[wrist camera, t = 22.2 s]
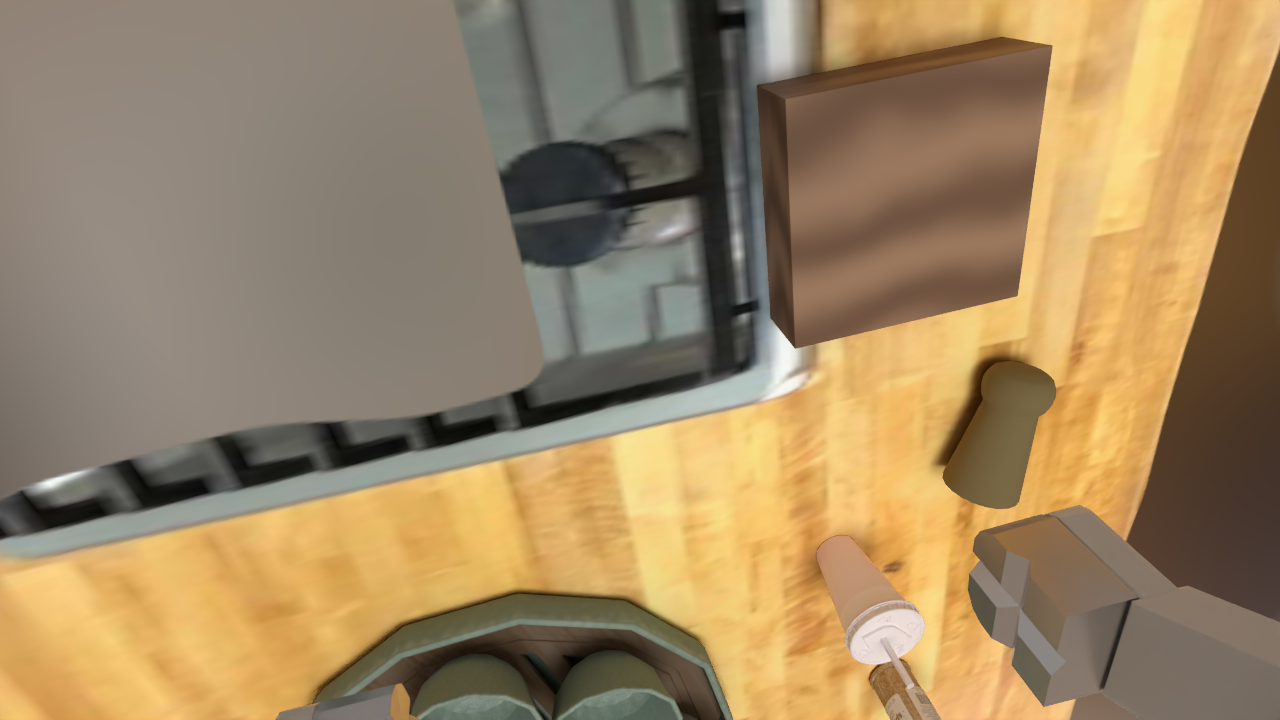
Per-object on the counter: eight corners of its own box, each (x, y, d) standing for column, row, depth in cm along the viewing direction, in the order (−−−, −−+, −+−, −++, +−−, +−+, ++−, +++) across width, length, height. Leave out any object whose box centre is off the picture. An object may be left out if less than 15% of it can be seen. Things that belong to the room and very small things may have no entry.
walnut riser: (754, 84, 44) (785, 99, 40) (997, 36, 46) (1052, 45, 41) (768, 315, 52) (795, 348, 48) (974, 268, 54) (1017, 295, 50)
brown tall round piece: (930, 463, 63) (970, 348, 58) (997, 468, 63) (1041, 355, 59) (961, 506, 57) (1007, 383, 53) (1033, 511, 58) (1085, 390, 53)
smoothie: (818, 520, 63) (899, 654, 51) (880, 526, 65) (972, 657, 53) (791, 574, 66) (862, 714, 54) (851, 579, 68) (932, 714, 56)
